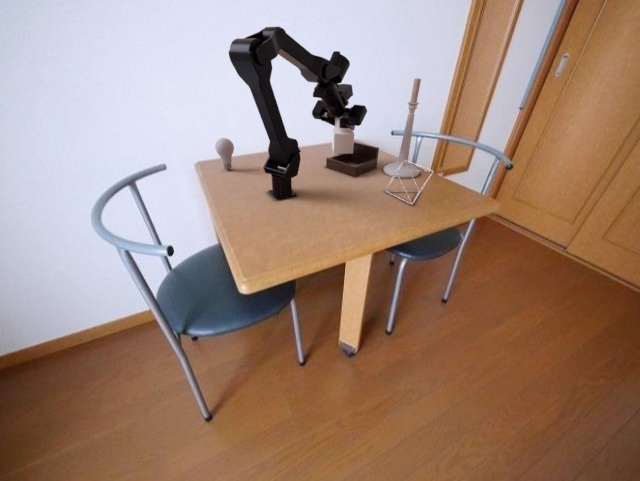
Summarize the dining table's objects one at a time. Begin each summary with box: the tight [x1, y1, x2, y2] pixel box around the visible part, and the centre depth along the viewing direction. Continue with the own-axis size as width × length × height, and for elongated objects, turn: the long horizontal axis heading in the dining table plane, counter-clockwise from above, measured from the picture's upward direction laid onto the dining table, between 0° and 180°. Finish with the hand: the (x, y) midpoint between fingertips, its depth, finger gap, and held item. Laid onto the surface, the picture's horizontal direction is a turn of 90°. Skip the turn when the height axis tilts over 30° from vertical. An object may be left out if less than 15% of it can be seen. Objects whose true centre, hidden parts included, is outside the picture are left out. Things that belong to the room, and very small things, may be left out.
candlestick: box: [382, 78, 422, 179], centre depth 96 cm, size 13×13×30 cm
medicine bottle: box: [331, 115, 355, 155], centre depth 102 cm, size 7×7×12 cm
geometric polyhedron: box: [385, 160, 435, 205], centre depth 84 cm, size 12×11×9 cm
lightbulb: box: [214, 137, 235, 171], centre depth 99 cm, size 6×6×11 cm
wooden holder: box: [325, 141, 380, 178], centre depth 105 cm, size 13×13×8 cm
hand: (346, 128), depth 102 cm, fingers closed on medicine bottle, 6 cm apart
